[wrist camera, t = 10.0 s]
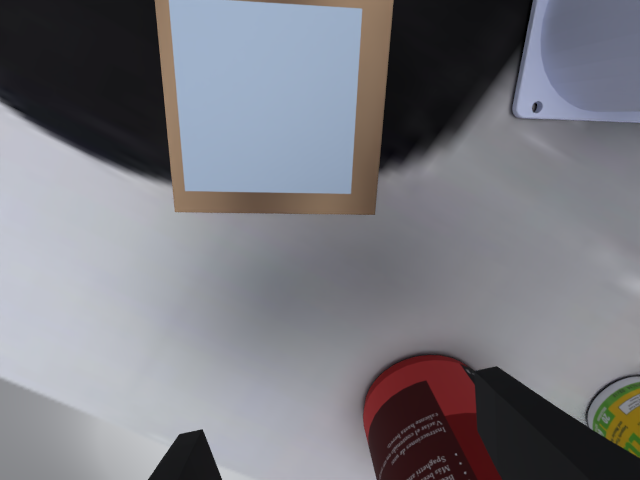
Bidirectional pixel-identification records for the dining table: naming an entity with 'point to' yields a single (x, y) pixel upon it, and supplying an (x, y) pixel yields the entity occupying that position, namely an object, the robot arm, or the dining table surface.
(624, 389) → the supplement bottle
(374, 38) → the plinth
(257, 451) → the dining table surface
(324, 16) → the block
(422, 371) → the canned food
